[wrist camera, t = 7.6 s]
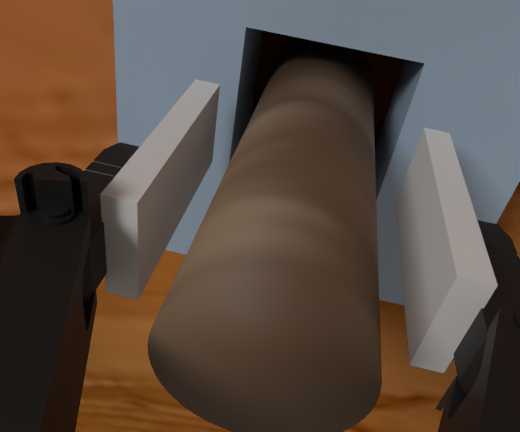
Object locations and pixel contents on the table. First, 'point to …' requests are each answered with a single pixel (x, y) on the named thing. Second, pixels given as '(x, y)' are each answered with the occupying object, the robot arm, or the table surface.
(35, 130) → the table surface
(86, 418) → the table surface
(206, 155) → the robot arm
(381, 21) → the socket block
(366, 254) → the peg
